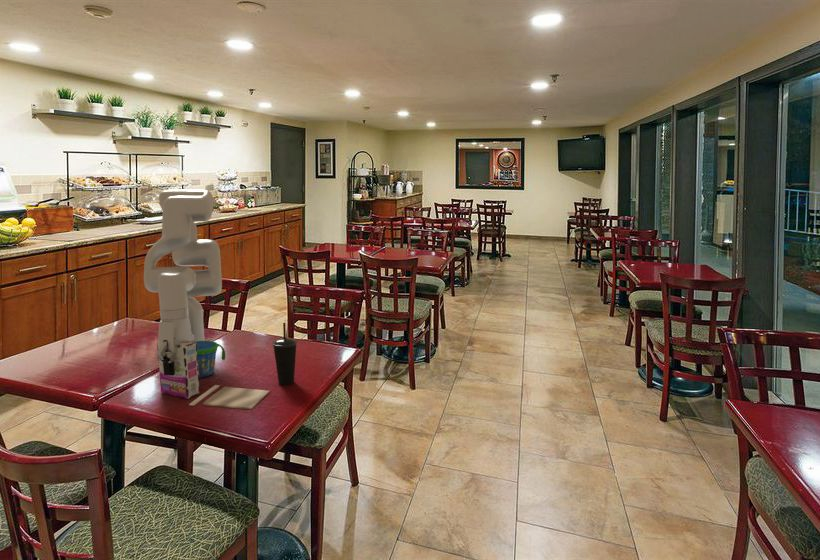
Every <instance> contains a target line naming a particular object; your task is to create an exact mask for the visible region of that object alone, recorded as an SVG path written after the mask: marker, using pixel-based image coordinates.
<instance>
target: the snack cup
mask: <svg viewBox="0 0 820 560" xmlns="http://www.w3.org/2000/svg"><path fill="white" fill-rule="evenodd" d="M195 342H196V345H197V360H198V375H199V379H200V378H201V379H202V378H205V377H208V376H213V374H214V372H215V367H216V366H215V365H216V355H217V351H218V348H220V349H221V350H222V351H221V360H222V361H226V356H227V355H226V351H225V348H224V347H223V346H222V345H221V344H219V343H217V342H216V341H214V340H213V341H212V340H205V341H195Z"/></svg>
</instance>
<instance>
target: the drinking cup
mask: <svg viewBox="0 0 820 560" xmlns="http://www.w3.org/2000/svg"><path fill="white" fill-rule="evenodd" d="M282 328H283V333H282V334H283V337H282V338H278V339H276V340H274V341H273V342H272V346H273V353H274V359H275V365H276V366H275V367H276V373H277V380H278V385H279V386H283V387H284V386H291V385H293V384H294V382H295V375H296V374H295V373H296V371H295V370H296V357H297V355H296V354H297V345H298V341H297V340H296V339H294V338H290V337H287V333H286V322H283V327H282Z"/></svg>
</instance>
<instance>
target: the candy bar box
mask: <svg viewBox="0 0 820 560" xmlns="http://www.w3.org/2000/svg"><path fill="white" fill-rule="evenodd" d="M156 344H157V347H156V348H157V351H158V350H159V341H157V342H156ZM168 352H171V350H168ZM157 357H158V356H157ZM167 357H168V358H169V357H170V355H169V354H167ZM172 362H174V368H175V375H173V376H171V375H164V369H163V363H162V362H161V360H160V359H159V357H158V369H159V382H160V384H159V385H160V392H161V394H164V395H169V396H173V397H178V398H182V399H183V398H184V399H187V400H189V399H192V398H193V397H195V396H197V395H199V394H201V390H200V380H199V379H200V378H199V375H198V360H197V345H196V342H191V341H186V342H184V343H182V344H180V345H178V351H177V353H176V354H174V358H173V361H172Z"/></svg>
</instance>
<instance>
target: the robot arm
mask: <svg viewBox="0 0 820 560" xmlns="http://www.w3.org/2000/svg"><path fill="white" fill-rule="evenodd" d="M158 195H159V196H158V202H159V206H160V208H161V211H162V216H161V217H162V218H161V220H162V221H161V237H160V239H158V240H157V241H156V242H155V243H154V244H153V245H152V246H150V247H151V248H149V250H148V251H147V253H146V256H145V257H144V258H145V259H144V263H143V264H144V265H143V266H144V268H143V285H144V287H145V289H146V291H148V292H150V293H158V301H159V302H158V304H159V315H160V320H159V324H158V337H157V338H158V341H157V342H159V350H158V349H157V351H156V356H157V357H159V359H160V360H161V362H162V363H163V369H164V375H171V376H173V375H175V368H174V362H172V361H173V358H174V354H176V353H177V351H178V345H180V344H182V343H184V342H186V341H191V342H195V341H206V339H205V326H204V310H203V306H202V304H201V303H200V301H198V299H196V298H195V297H210V296H212V297H213V296H217V295H219V294H221V292H222V288H223V277H222V261H221V251H220V246H219V243H218V242H217V241H216V240H214V239H198V229H197V225H196V223H197V222H209V220H210V219H211V218H212V215H213V211H214V204H215V202H214V197H213V196H214V195H213V194H212V193H211V191H210V190H209V189H208V190H207V189H179V188H178V189H167V190H163V191H161V192H160V193H159V194H158ZM170 253H171V254H172V255H171V256H172V262H173V263H174V264H175V265H176V266H163V267H162V266H161V267H156V265H157V263H158V262H159V261H160V260H161V259H162V258H163V257H164V256H167V255H170ZM191 267H207V269H193V268H191ZM168 350H171V352H168ZM167 354H169V355H170V357H169V358H168V357H167Z"/></svg>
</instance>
